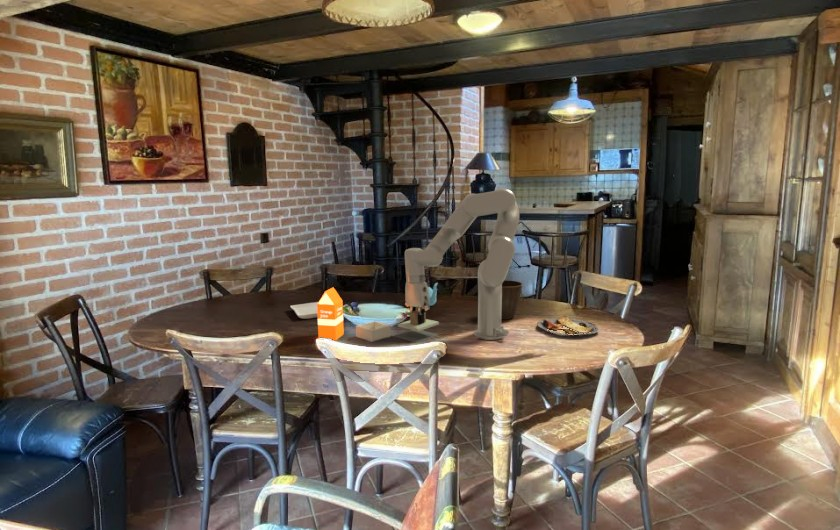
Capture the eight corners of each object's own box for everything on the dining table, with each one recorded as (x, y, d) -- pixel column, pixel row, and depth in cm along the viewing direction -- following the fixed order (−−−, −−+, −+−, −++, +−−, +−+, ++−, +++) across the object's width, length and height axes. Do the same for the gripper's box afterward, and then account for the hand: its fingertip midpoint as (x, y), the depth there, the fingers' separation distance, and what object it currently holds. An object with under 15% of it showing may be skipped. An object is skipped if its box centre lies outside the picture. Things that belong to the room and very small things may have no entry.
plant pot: (495, 322, 233) (496, 287, 230) (484, 314, 247) (485, 281, 245) (526, 320, 236) (527, 285, 233) (514, 312, 250) (515, 279, 248)
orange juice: (344, 333, 218) (342, 287, 215) (336, 340, 210) (334, 291, 206) (326, 332, 220) (324, 286, 217) (318, 339, 211) (315, 291, 208)
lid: (439, 324, 213) (438, 309, 212) (418, 331, 205) (417, 316, 204) (418, 319, 222) (417, 306, 221) (397, 326, 213) (396, 312, 212)
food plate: (527, 324, 228) (527, 317, 228) (571, 320, 237) (572, 312, 236) (561, 343, 205) (562, 334, 205) (609, 336, 214) (610, 328, 213)
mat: (439, 335, 214) (439, 334, 214) (415, 343, 204) (415, 342, 204) (415, 329, 224) (415, 328, 224) (391, 336, 214) (391, 335, 214)
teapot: (411, 300, 275) (411, 281, 274) (439, 301, 274) (439, 282, 272) (408, 307, 261) (407, 287, 259) (438, 308, 260) (438, 288, 258)
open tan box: (391, 337, 213) (390, 325, 212) (372, 342, 206) (372, 330, 205) (375, 332, 220) (374, 320, 219) (356, 337, 213) (356, 325, 212)
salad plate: (298, 322, 238) (297, 314, 237) (289, 311, 257) (289, 304, 256) (343, 316, 246) (343, 309, 246) (331, 306, 266) (331, 300, 265)
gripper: (436, 279, 207) (439, 323, 210) (408, 275, 219) (410, 317, 222) (423, 282, 202) (426, 328, 205) (394, 278, 213) (397, 322, 216)
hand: (418, 322), depth 213 cm, fingers closed on lid, 3 cm apart
